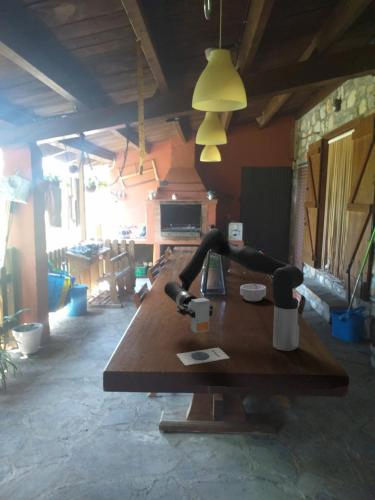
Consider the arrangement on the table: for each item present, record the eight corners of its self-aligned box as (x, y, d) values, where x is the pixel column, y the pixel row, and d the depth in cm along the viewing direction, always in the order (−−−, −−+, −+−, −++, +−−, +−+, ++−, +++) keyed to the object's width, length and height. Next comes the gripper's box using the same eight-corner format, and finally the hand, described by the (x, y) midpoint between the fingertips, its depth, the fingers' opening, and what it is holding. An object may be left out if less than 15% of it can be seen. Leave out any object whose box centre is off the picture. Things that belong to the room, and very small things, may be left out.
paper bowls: (234, 299, 219) (235, 286, 218) (250, 294, 229) (250, 282, 228) (255, 304, 208) (255, 291, 206) (271, 299, 218) (271, 286, 217)
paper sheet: (218, 348, 149) (218, 347, 149) (229, 358, 139) (229, 357, 139) (176, 354, 143) (176, 353, 142) (185, 365, 133) (185, 364, 133)
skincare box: (195, 333, 136) (195, 302, 134) (190, 329, 140) (190, 299, 138) (209, 330, 139) (210, 300, 137) (204, 327, 142) (205, 297, 141)
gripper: (170, 294, 148) (184, 306, 133) (203, 291, 153) (220, 302, 138) (170, 312, 150) (184, 326, 134) (203, 308, 154) (220, 321, 139)
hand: (202, 314), depth 136 cm, fingers closed on skincare box, 6 cm apart
